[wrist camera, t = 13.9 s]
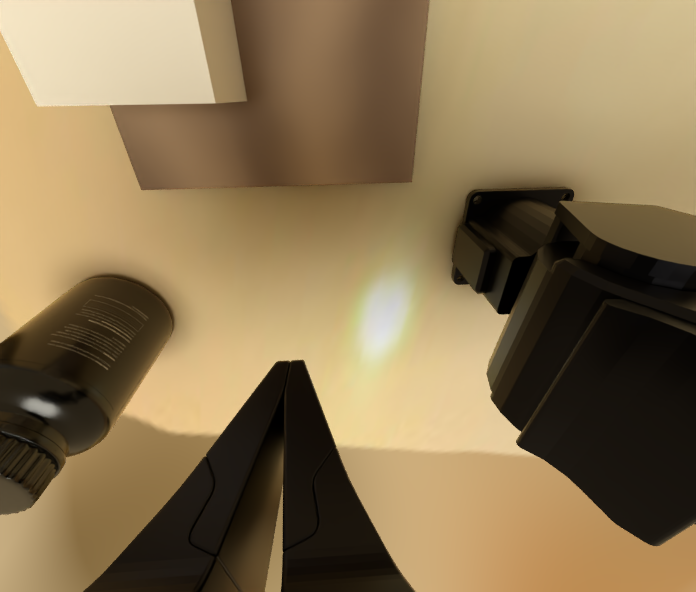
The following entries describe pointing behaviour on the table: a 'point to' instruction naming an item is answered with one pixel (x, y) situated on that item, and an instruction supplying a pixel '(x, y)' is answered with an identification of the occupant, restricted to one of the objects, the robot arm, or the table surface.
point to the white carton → (125, 51)
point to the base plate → (296, 102)
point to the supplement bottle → (72, 379)
